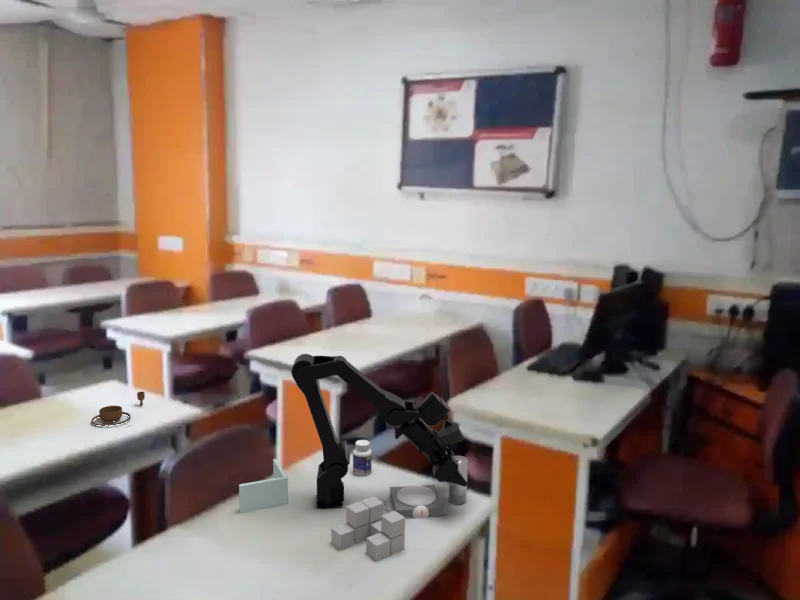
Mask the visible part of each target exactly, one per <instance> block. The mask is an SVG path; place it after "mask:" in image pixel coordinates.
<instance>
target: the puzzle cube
mask: <svg viewBox="0 0 800 600" xmlns="http://www.w3.org/2000/svg"><path fill="white" fill-rule="evenodd" d="M383 505H385V503H384V502H383V501H382V500H380V499H379V498H377V497H376V496H371V497H369V498H366V499H362V500H360V501H357V502H354V503H352V504H348V505H346V507H345V510H346V512H345V513H346V515H345V518H346V519H345V521H346V522H343V523H340V524H337V525H335V526H333V527H331V528H330V529H331V530H330V531H331V534H330V535H331V538H330V539H331V541H330V542H331V544H332V545H334V546H335V547H336V548H337V549H338V550H340V551H342V550H344V549H346V548H347V549H348V548H349V547H352V546H355V545H357V544H360V543H362V542H365V541H366V545H365V546H366V547H365V548H366V549H365V551H366V552H365V553H366V554H367V555H368V556H369V557H370V558H371V559H373V560H374V561H375V562H378V561H379V560H382V559H385V558H387V557H389V556H391V555H394V554H397V553H398V552H401V551H404V550H405V540H406V539H405V537H406V536H405V535H406V534H405V533H406V518H405V517H404V516H402V515H401V514H399V513H398V512H396V511H394V510H393V511H389V513H387V514H384V515H383Z"/></svg>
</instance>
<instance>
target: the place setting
mask: <svg viewBox="0 0 800 600" xmlns="http://www.w3.org/2000/svg"><path fill="white" fill-rule="evenodd" d="M145 393H146V392H145V391H138V392H136V398H137V400H138V401H139V407H141V406H142V405H144V403H143V401H144V400H145V397H146V396H145V395H146V394H145ZM98 411H99V414H98V415H95V416H93V417H92V418H91V424H92V423H93V424H95V425H101V426H105V425H108V426H109V425H116V424H121V423H124V422H126V421H128V420H129V419H130V420H131V414H130V413H129V412H126V411H123V407H122V406H120V405H108V406H104V407H101V408H100V409H99V410H98ZM122 414H126V415H128V416H129V418H128V417H127V419H125V420H122V421H120V422H118V421H119V420H120V419H121V418H122V417H123V416H122ZM97 417H100V420H101V421H103V422H113V421H117V420H118V421H117V422H114V423H105V424H103V423H102V424H100V423H96V422H93V420H94V419H95V418H97ZM130 420H129V421H130ZM129 421H128V422H129ZM93 424H92V425H93Z"/></svg>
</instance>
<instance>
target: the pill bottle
mask: <svg viewBox="0 0 800 600" xmlns="http://www.w3.org/2000/svg"><path fill="white" fill-rule="evenodd" d="M370 443H371V442H370V441H369V440H367V439H359V440H356V442H355V446H354V447H355V449H353V451H352V472H353V474H354V475H356V476H360V477H365V475H366V476H368V475H370V474H371V473H372V464H373V463H372V457H373V455H372V454H373V452H372V450H371V448H370V446H371V444H370Z"/></svg>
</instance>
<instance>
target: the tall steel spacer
mask: <svg viewBox="0 0 800 600" xmlns="http://www.w3.org/2000/svg"><path fill="white" fill-rule="evenodd" d="M453 457H454V458H455V459H456V460H457V462H458V471H459V472H460V473H461V475H462V476H463V477H464V479H465V480H466V482H467V483H468V470H469V469H468V467H469V466H468V465H469V459H468V458H467V457H466V456H462V455H455V456H453ZM467 490H468V485H466V486H465V487H464V486H461V485H457V484H454V483H450V482H448V500H447V501H448V503H450V504H451V505H454V506H462V505H465V504H466V503H467Z"/></svg>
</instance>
